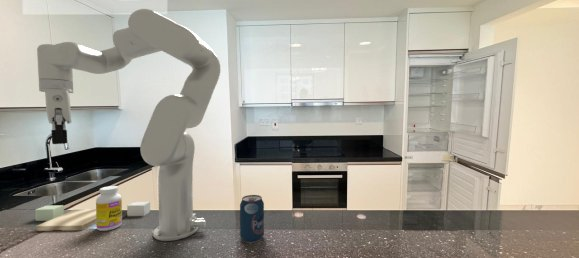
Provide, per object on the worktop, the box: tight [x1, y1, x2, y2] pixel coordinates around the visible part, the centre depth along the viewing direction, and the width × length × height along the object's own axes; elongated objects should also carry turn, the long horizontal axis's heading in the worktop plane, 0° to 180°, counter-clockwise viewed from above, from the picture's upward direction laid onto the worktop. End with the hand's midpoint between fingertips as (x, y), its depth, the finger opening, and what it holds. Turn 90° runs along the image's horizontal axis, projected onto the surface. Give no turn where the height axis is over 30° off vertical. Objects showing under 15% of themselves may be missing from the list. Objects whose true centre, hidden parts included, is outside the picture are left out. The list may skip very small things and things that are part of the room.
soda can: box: [239, 194, 265, 244], centre depth 70 cm, size 7×7×12 cm
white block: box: [126, 201, 151, 217], centre depth 88 cm, size 6×4×4 cm, turn 92°
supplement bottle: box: [95, 185, 123, 232], centre depth 77 cm, size 7×7×13 cm
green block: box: [34, 204, 65, 222], centre depth 84 cm, size 6×4×4 cm, turn 92°
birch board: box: [35, 208, 96, 232], centre depth 82 cm, size 14×14×2 cm
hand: (59, 142), depth 74 cm, fingers open, 9 cm apart
